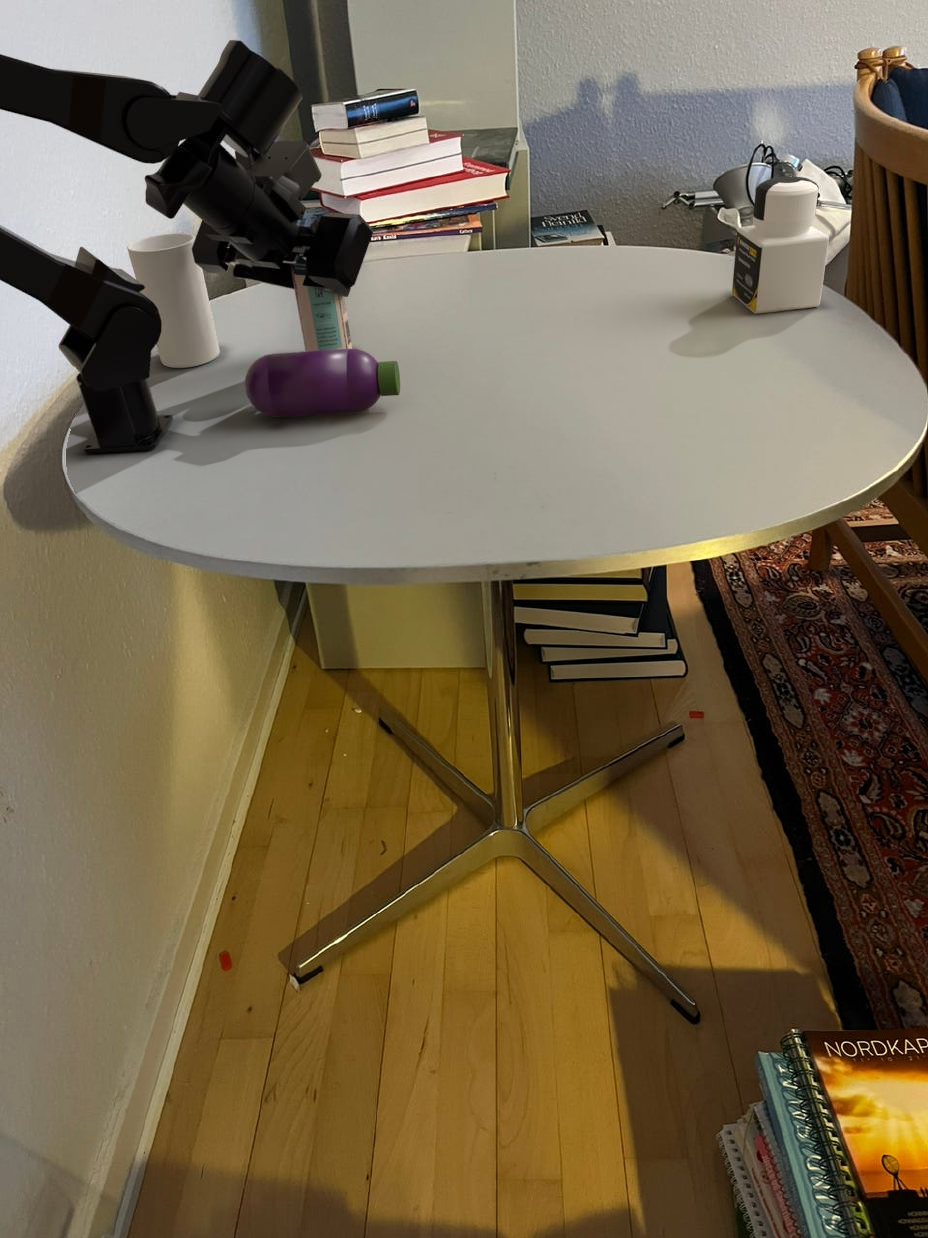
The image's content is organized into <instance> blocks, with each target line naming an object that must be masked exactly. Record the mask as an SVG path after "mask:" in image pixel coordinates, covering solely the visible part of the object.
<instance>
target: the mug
mask: <svg viewBox="0 0 928 1238" xmlns="http://www.w3.org/2000/svg"><path fill="white" fill-rule="evenodd" d="M195 238H196V235H194V234H191V233H187V232H186V233H185V232H170V233H169V232H168V233H161V234H155V235H150V236H146V237H143V238H140V239H137V240H134V241H132V242H131V243H129V244H127V246H126V249H127V252H128V256H129V260H130V264H131V267H132V271H133V274H134V277H135V279H136V280H137V281H139V282H140V283H141V284H143V285H144V286H145V289H144V290H142V291H140V292H141V293H142V294H143V295H145V296H146V297H147V298H148V299H150V300H151V301H152V302H153V303H154V304H155V305H156V307H157V308H158V311H159V314H160V318H161V321H162V328H161V335H160V338H159V341H158V343H157V344H156V345H155V347H156V349H157V352H158V355H159V359H160V362H161V363H162V364H163V365H164V366H166V367H168V368H172V369H173V368H174V369H185V368H192V367H197V366H201V365H204V364H205V365H206V364H207V363H210V362H211V361H214V360H215V359H216V358H217V357H218V356H219V355H220V353H221V352H220V347H219V342H218V341H219V340H218V337H217V332H216V331H217V330H216V326H215V322H214V317H213V313H212V307H211V303H210V299H209V294H208V289H207V285H206V281H205V276H204V270H203V269H202V268H201V267H200V266H198V265H197V264H196V263H195V262H194V257H193V253H192V246H193V244H194V241H195Z"/></svg>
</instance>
